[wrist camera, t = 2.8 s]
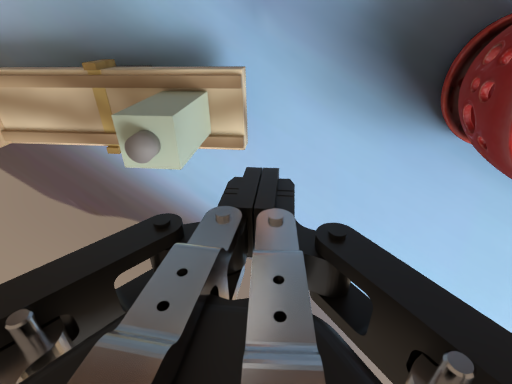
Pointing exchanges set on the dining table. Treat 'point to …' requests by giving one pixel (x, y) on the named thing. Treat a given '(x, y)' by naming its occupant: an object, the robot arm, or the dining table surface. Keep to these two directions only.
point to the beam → (112, 101)
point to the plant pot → (483, 94)
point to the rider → (163, 129)
